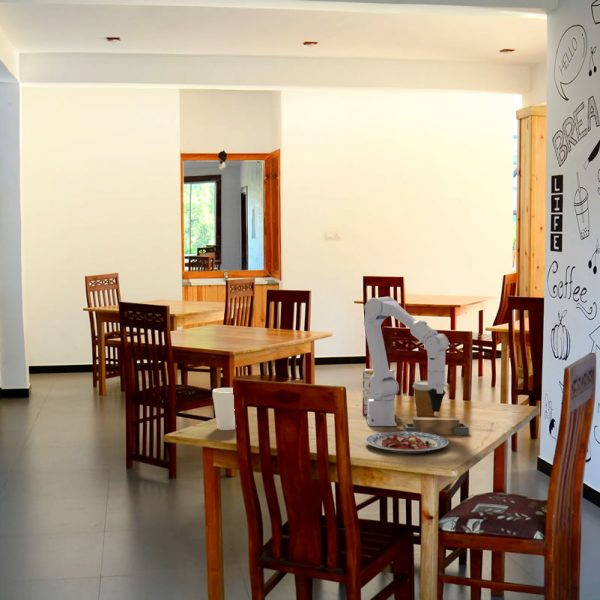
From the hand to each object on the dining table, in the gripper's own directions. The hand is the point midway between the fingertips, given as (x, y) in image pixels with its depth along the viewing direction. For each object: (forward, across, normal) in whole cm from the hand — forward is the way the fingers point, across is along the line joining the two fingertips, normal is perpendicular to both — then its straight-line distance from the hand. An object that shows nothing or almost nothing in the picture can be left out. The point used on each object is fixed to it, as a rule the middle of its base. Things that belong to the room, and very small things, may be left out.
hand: (435, 411), depth 306 cm
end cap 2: (+7, 0, -8) cm, 10 cm away
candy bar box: (+7, +31, +16) cm, 35 cm away
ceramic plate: (+8, -19, +12) cm, 24 cm away
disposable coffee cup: (+7, +29, -2) cm, 30 cm away
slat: (+7, 0, 0) cm, 7 cm away
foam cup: (+7, +9, +70) cm, 71 cm away
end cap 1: (+7, 0, +8) cm, 10 cm away
